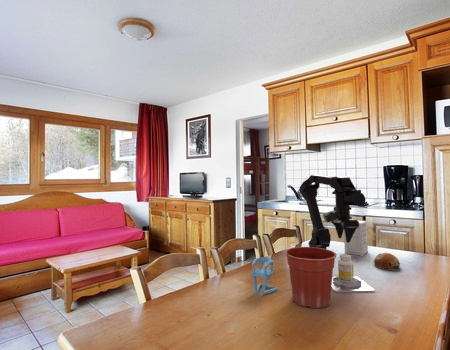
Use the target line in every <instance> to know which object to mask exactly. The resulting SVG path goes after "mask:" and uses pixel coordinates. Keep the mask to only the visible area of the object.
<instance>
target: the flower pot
mask: <svg viewBox="0 0 450 350" xmlns="http://www.w3.org/2000/svg"><path fill="white" fill-rule="evenodd" d="M284 254H285V255H286V259H287V264H288V268H289V269H288V270H289V277H290V278H289V279H290V287H291V294H292V296H291V297H292V300H293V302H294V303H295V304H297V305H299V306H302V307H304V308H306V307H310V308H312V309H322V308H323V309H324V308H325V307H329V306H330V303H331V301H332V299H331V298H332V288H331V287H332V277H333V275H334V274H333V273H334V268H335V260H336V257H337V253H336V252H335V251H334V250H330V249H327V248H326V249H323V248H316V247H309V246H298V247H297V246H296V247H290V248H288V249H286V250H285V251H284Z"/></svg>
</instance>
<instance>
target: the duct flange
mask: <svg viewBox="0 0 450 350" xmlns="http://www.w3.org/2000/svg"><path fill="white" fill-rule="evenodd" d="M331 291H333V293H339V294H340V293H375V292H376V290H375V288H373V287H371V286H370V285H369V284H368V283H366V282H365V281H364V280H362V279H361V278H360V277H359V276H358V275H357V276H356V275H355V276H354V281H353V282H352V283H344V282H341V281H339V276H332V287H331Z"/></svg>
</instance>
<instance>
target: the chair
mask: <svg viewBox="0 0 450 350" xmlns="http://www.w3.org/2000/svg"><path fill="white" fill-rule="evenodd" d="M257 263H258V264H259V268H257V269H256V267H255V265H256V264H257ZM262 263H265V265H264V266H262ZM274 263H275V261H274V260H273V259H271V258H269V257H267V256H261V257H258V258H255V259H253V261H252V263H251V266H252V272H250V276H252V282H253V283H252V284H253V294H254V295H257V294H258V293H259V291H260V289H261V291H260V293H259V296H260V297H263V296H265V295H268V294H271V293H274V292H277V291H278V290H279V287H277V286H273V285H269V284H268V283H269V280H270V279H271V277H272V276H273V275H274V274H276V271H275V270H274V269H273V267H274ZM269 266H270V268H269V269H268V267H269ZM262 267H263V268H262ZM257 277H259V278H262V279H264V283H257ZM261 287H262V288H261ZM265 289H267V290H265Z"/></svg>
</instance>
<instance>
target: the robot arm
mask: <svg viewBox="0 0 450 350" xmlns="http://www.w3.org/2000/svg"><path fill="white" fill-rule="evenodd" d="M353 183H354V182H353V181H352V179H351V178H350V176H347V175H346V176H327V175H321V174H311V175H310V176H309V177H308V178H307V179H306V180H304V181H302V183H301V184H300V186H299V191H300V195H301V197H302V198H303V199H304V200H305V201H306V202H305V203H306V205H307V209H308V213H309V216H310V221H311V223H312V224H311V225H312V231H311V237H310V240H309V241H308V247H316V248H323V249H327V248H330V245H331V241H332V238H331V237H332V236H331V233H330V229H329V228H326V227H325V226H324V223H323V220H324V222H326V223H331V225H333V226H334V228H335V231H336V233H337V236H338V239H342V237H343V235H344V231H345V236H346V241H347V243H349V242H350V241H351V238H352V236H353V234H354V232H355V231H356V229H357V228H358V227H359V222H358V221H359V220H358V219H354V218H353V217H352V216H351V211H352V209H353V208H352V207H354V206H355V207H362V206H364V205H365V203H366V197H365V194H364V193H362V190H361V189H357V188H356V187H355V185H354V184H353ZM320 185H325V186H330V188H331V189H334V190H332V192H331V194H332V195H334V196H335V197H334V198H335V201H334V202H335V206H333V209H332V210H331V211H328V212H325V213H322V216H321V212H320V209H319V204H318V202H317V197H318V189H319V188H320ZM322 218H323V220H322Z"/></svg>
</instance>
